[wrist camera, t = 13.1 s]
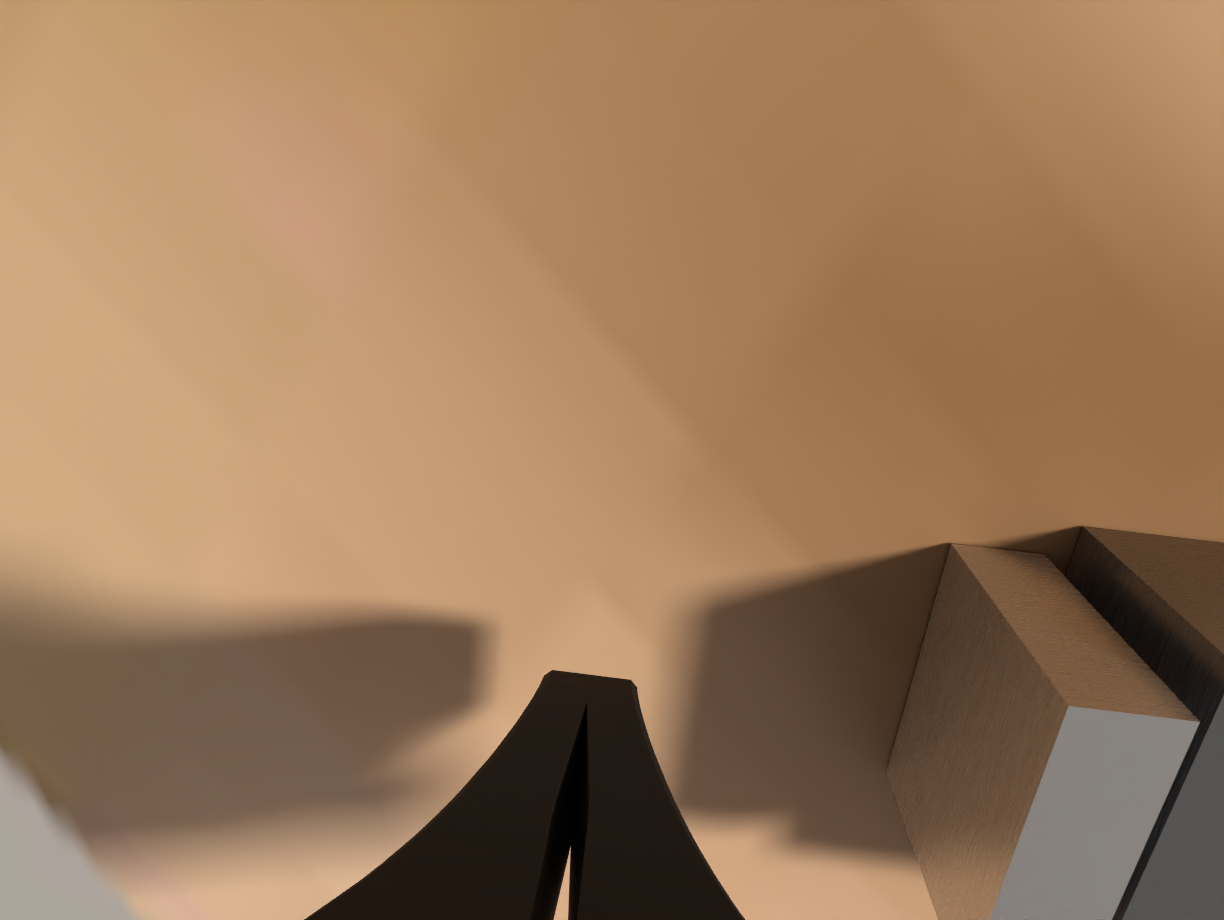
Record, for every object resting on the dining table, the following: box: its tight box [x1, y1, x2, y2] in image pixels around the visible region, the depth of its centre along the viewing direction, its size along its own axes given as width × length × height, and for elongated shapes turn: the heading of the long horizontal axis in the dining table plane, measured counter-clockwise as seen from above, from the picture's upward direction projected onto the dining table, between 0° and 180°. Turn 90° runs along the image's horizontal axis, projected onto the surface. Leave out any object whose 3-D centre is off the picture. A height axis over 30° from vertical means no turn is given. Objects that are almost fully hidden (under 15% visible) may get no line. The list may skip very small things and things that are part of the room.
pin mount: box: [1066, 526, 1224, 920], centre depth 13 cm, size 6×4×4 cm, turn 174°
